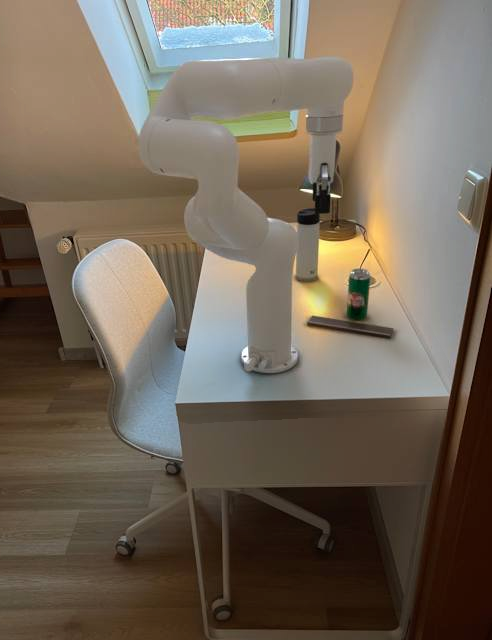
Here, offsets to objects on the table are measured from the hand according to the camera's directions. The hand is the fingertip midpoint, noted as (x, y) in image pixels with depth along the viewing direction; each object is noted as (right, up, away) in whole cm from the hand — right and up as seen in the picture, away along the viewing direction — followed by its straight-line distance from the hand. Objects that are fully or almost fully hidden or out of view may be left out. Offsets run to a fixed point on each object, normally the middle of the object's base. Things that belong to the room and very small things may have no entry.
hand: (320, 206), depth 122 cm
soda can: (+12, -24, +15) cm, 30 cm away
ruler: (+9, -27, +10) cm, 30 cm away
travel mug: (+3, -11, +37) cm, 39 cm away
